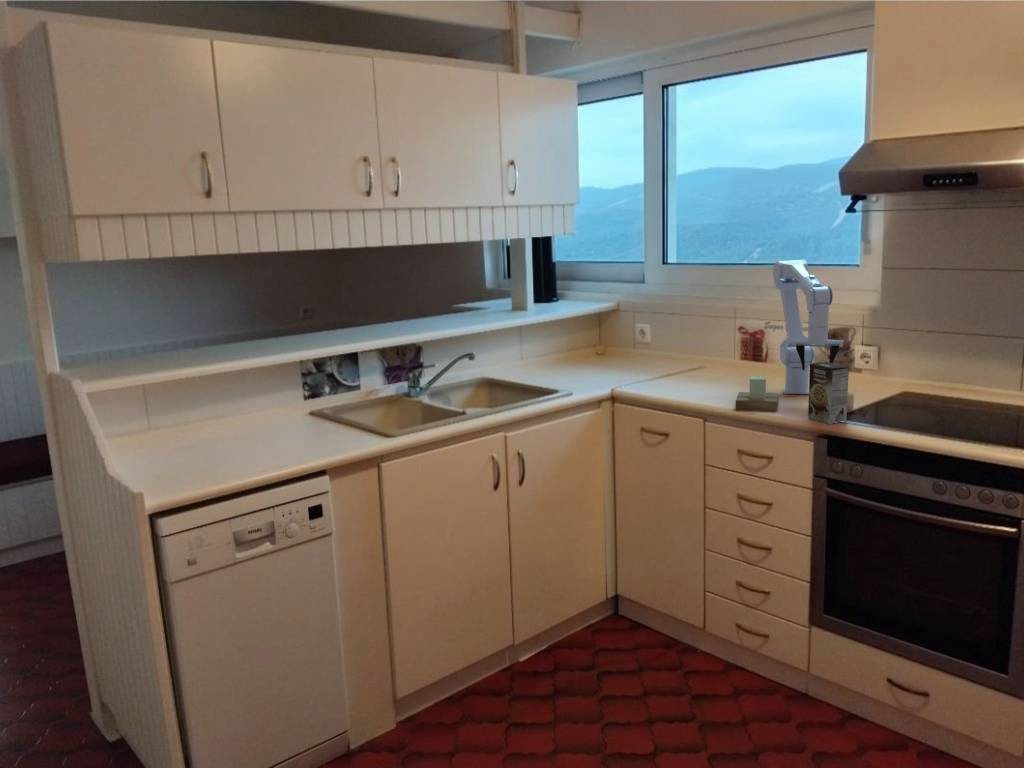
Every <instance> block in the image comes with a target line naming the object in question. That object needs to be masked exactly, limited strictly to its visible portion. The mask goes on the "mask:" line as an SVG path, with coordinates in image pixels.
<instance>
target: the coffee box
mask: <svg viewBox="0 0 1024 768" xmlns="http://www.w3.org/2000/svg"><path fill="white" fill-rule="evenodd" d="M849 372H850V367H849V366H846V365H844V364H843V365H842V364H838V363H834V362H833V363H829V361H824V362H821V361H820V362H813V363H811V364H810V366H809V374H808V387H809V394H808V406H807V407H808V409H807V410H808V412H807V413H808V414H807V417H808V419H811V420H815V421H816V422H820V421H821V422H820V423H824V424H827V425H833V424H832V423H836V422H841V421H846V422H847V414H848V412H847V395H848V393H849V376H850V375H849ZM836 424H837V423H836Z"/></svg>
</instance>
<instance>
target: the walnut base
mask: <svg viewBox="0 0 1024 768" xmlns="http://www.w3.org/2000/svg"><path fill="white" fill-rule="evenodd" d="M779 396H780V394H779V393H778V392H776V393H775V392H773V393H772V392H766V396H765V399H755V398H750V391H748V392H745V391H742V392H741V391H739V392H738V393H737V396H736V398H735V411H750V410H761V411H760V412H776V411H777V412H778V406H779Z"/></svg>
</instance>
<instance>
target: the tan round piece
mask: <svg viewBox="0 0 1024 768" xmlns="http://www.w3.org/2000/svg"><path fill="white" fill-rule="evenodd" d="M854 401H855V394H854V393H853V392H848V395H847V413H851V412H850V411H853V412H854V405H855V404H854V403H855V402H854Z"/></svg>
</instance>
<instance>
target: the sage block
mask: <svg viewBox="0 0 1024 768" xmlns="http://www.w3.org/2000/svg"><path fill="white" fill-rule="evenodd" d="M766 388H767V377H766V376H755V375H754V376H750V378H749V393H750V398H755V399H765V396H766V393H767V390H766Z"/></svg>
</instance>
